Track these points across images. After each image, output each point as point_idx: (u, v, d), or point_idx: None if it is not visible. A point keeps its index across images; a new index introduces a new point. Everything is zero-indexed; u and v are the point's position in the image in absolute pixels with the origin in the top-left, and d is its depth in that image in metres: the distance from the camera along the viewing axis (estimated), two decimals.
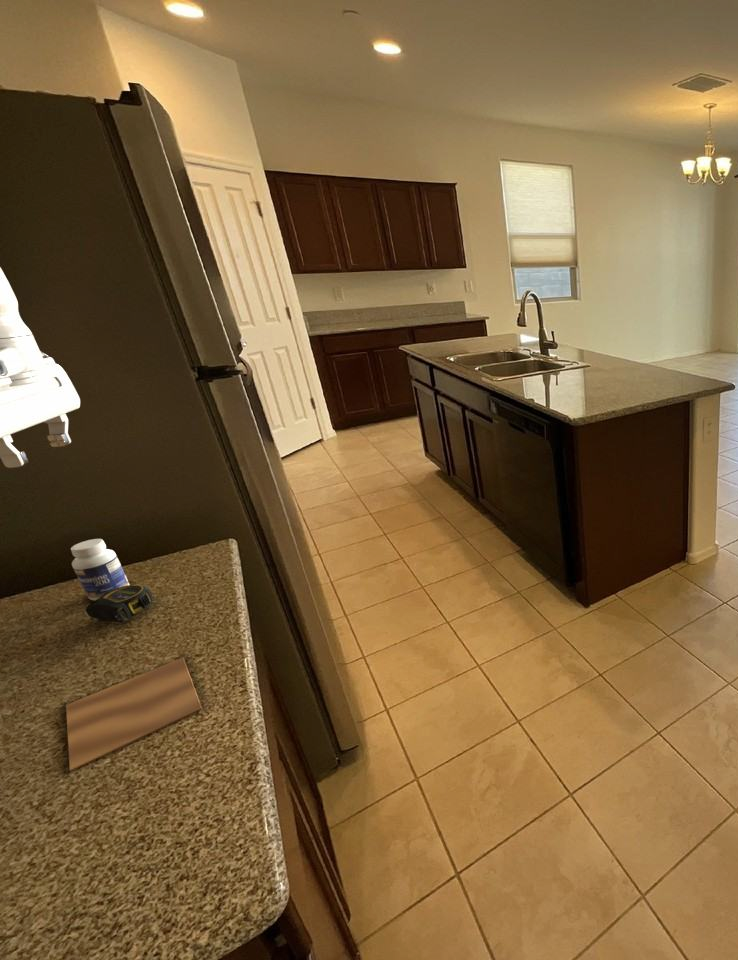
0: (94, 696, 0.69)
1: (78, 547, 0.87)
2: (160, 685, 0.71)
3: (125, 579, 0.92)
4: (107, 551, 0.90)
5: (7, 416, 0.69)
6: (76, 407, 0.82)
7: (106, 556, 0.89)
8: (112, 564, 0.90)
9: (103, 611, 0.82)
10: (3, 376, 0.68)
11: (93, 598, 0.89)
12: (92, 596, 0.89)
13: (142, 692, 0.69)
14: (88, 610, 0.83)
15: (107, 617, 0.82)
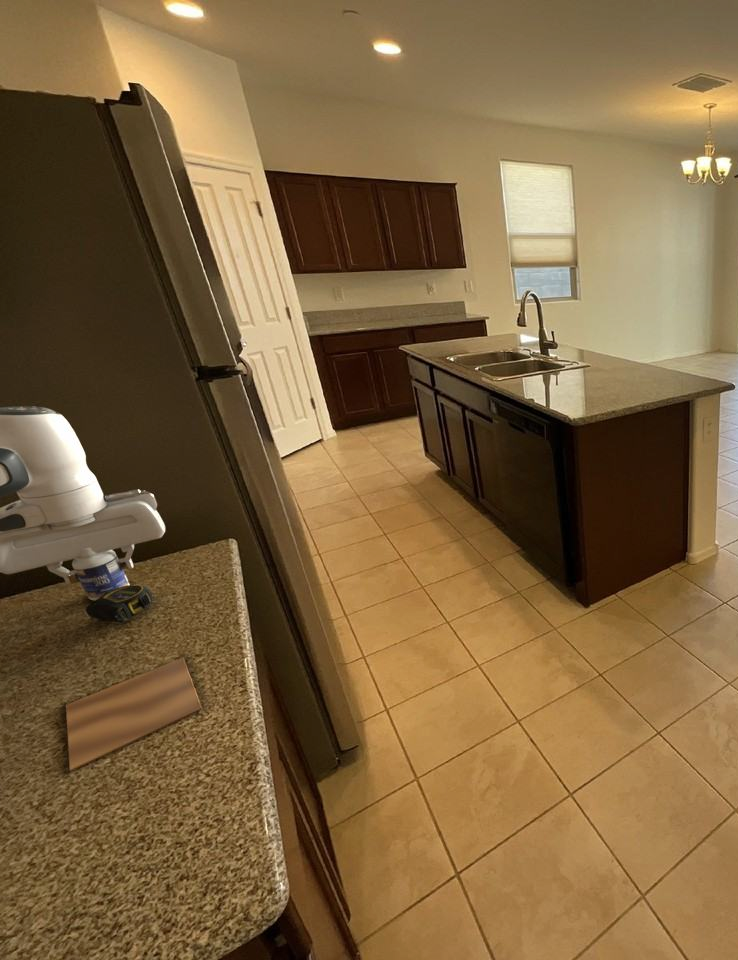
0: (94, 696, 0.69)
1: None
2: (160, 685, 0.71)
3: (125, 579, 0.92)
4: (107, 551, 0.90)
5: (36, 554, 0.83)
6: (152, 538, 0.92)
7: (106, 556, 0.89)
8: (112, 564, 0.90)
9: (103, 611, 0.82)
10: (20, 528, 0.80)
11: (93, 598, 0.89)
12: (92, 596, 0.89)
13: (142, 692, 0.69)
14: (88, 610, 0.83)
15: (107, 617, 0.82)
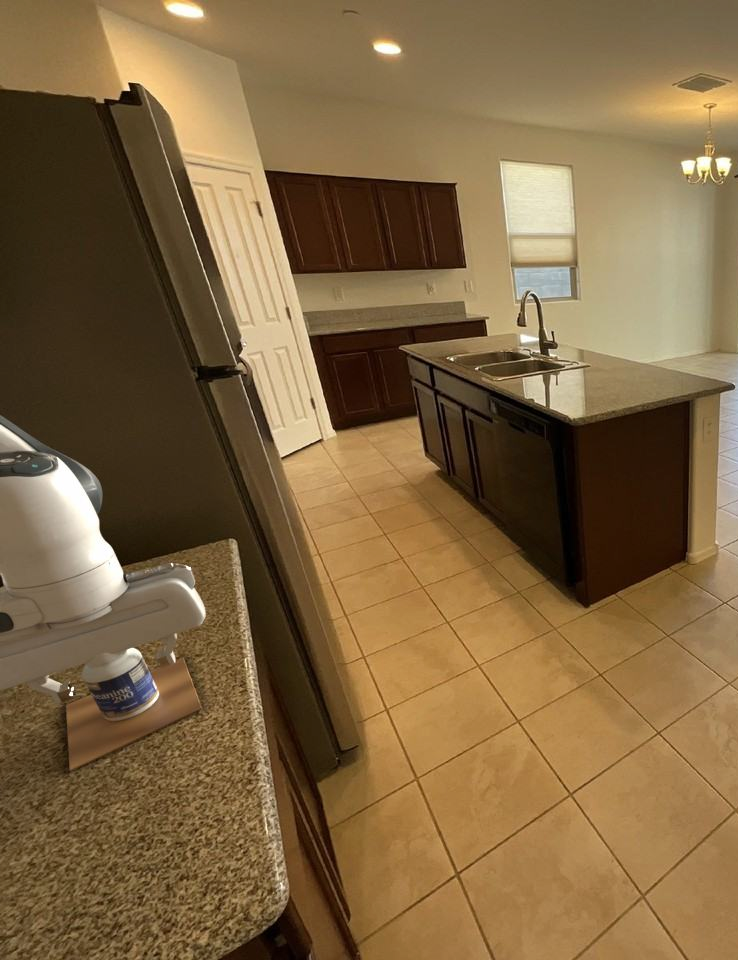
0: None
1: None
2: (160, 685, 0.71)
3: (154, 687, 0.68)
4: (130, 652, 0.65)
5: (29, 663, 0.58)
6: (189, 628, 0.67)
7: (128, 661, 0.64)
8: (137, 670, 0.65)
9: None
10: (5, 632, 0.56)
11: (111, 718, 0.65)
12: (109, 716, 0.64)
13: None
14: None
15: None
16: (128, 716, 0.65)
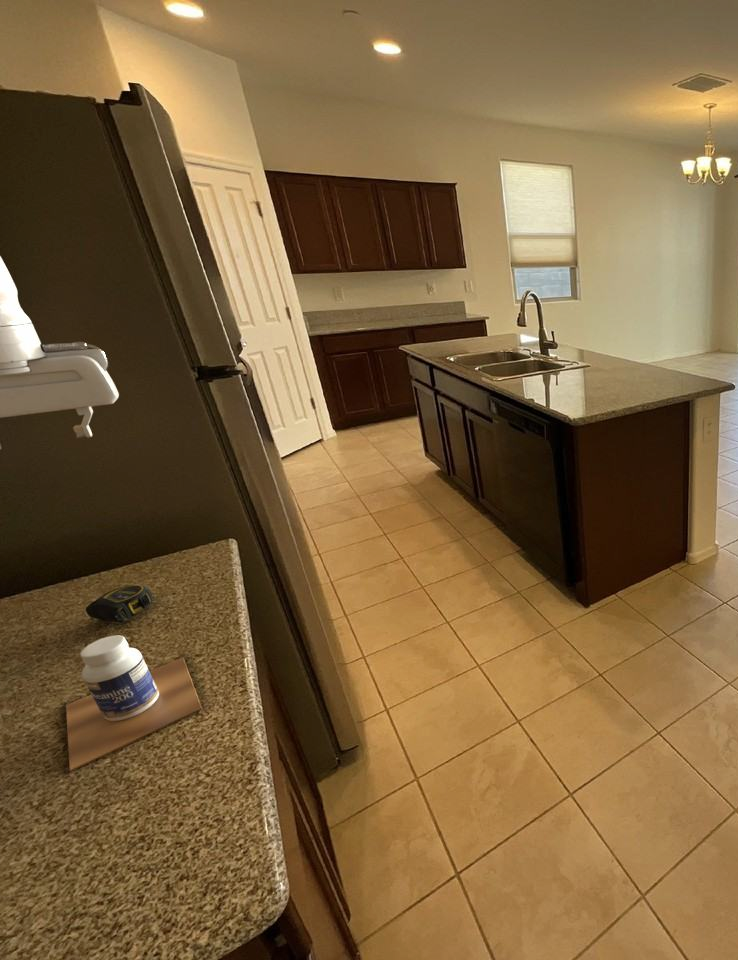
0: None
1: (91, 651, 0.63)
2: (160, 685, 0.71)
3: (154, 687, 0.68)
4: (130, 652, 0.65)
5: None
6: (102, 403, 0.78)
7: (128, 661, 0.64)
8: (137, 670, 0.65)
9: (103, 611, 0.82)
10: None
11: (111, 718, 0.65)
12: (109, 716, 0.64)
13: None
14: (88, 610, 0.83)
15: (107, 617, 0.82)
16: (128, 716, 0.65)
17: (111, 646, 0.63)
